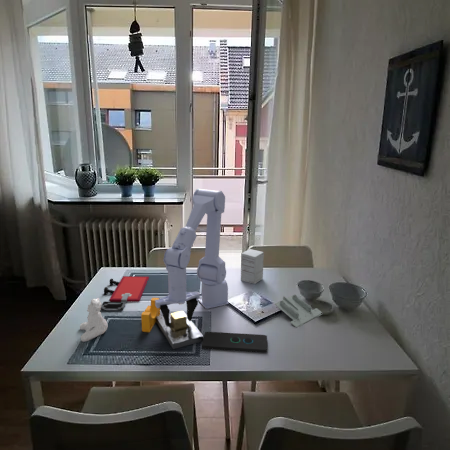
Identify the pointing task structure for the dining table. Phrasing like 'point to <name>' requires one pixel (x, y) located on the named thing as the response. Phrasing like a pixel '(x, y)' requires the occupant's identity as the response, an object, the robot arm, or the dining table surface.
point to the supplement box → (252, 266)
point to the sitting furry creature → (93, 322)
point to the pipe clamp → (150, 316)
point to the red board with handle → (125, 292)
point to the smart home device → (235, 342)
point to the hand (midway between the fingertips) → (178, 322)
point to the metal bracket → (297, 310)
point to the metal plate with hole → (180, 333)
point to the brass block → (178, 321)
